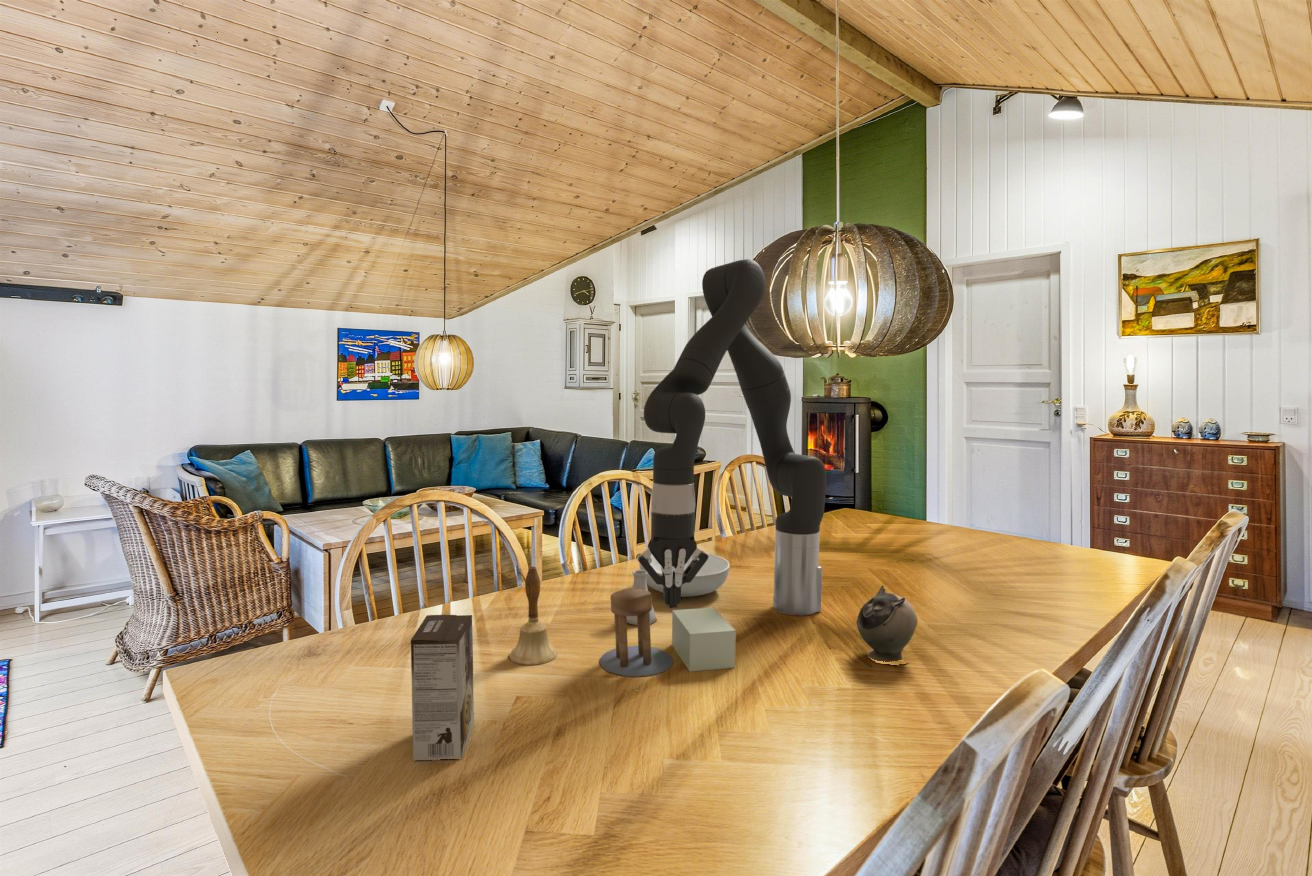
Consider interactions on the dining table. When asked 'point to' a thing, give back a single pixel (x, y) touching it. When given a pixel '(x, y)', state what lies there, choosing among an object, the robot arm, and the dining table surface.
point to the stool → (640, 606)
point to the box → (703, 639)
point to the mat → (637, 662)
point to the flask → (641, 583)
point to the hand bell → (533, 630)
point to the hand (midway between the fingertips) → (671, 606)
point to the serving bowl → (697, 576)
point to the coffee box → (442, 687)
